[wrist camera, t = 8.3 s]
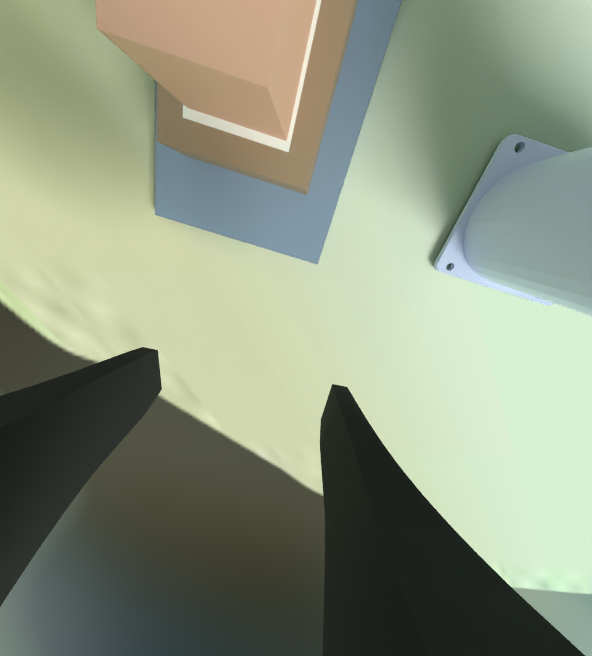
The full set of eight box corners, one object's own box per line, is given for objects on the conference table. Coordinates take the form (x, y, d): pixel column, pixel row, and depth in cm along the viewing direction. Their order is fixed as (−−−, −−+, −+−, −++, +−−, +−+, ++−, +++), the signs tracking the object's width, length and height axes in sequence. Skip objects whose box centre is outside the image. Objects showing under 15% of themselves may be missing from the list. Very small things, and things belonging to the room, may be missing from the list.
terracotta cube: (318, -12, 9) (323, -244, 4) (286, 141, 11) (267, 88, 7) (195, -58, 9) (69, -354, 4) (187, 107, 11) (97, 28, 6)
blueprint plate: (428, -87, 10) (482, -234, 7) (317, 262, 17) (318, 273, 14) (165, -193, 10) (86, -409, 6) (160, 214, 16) (121, 213, 13)
